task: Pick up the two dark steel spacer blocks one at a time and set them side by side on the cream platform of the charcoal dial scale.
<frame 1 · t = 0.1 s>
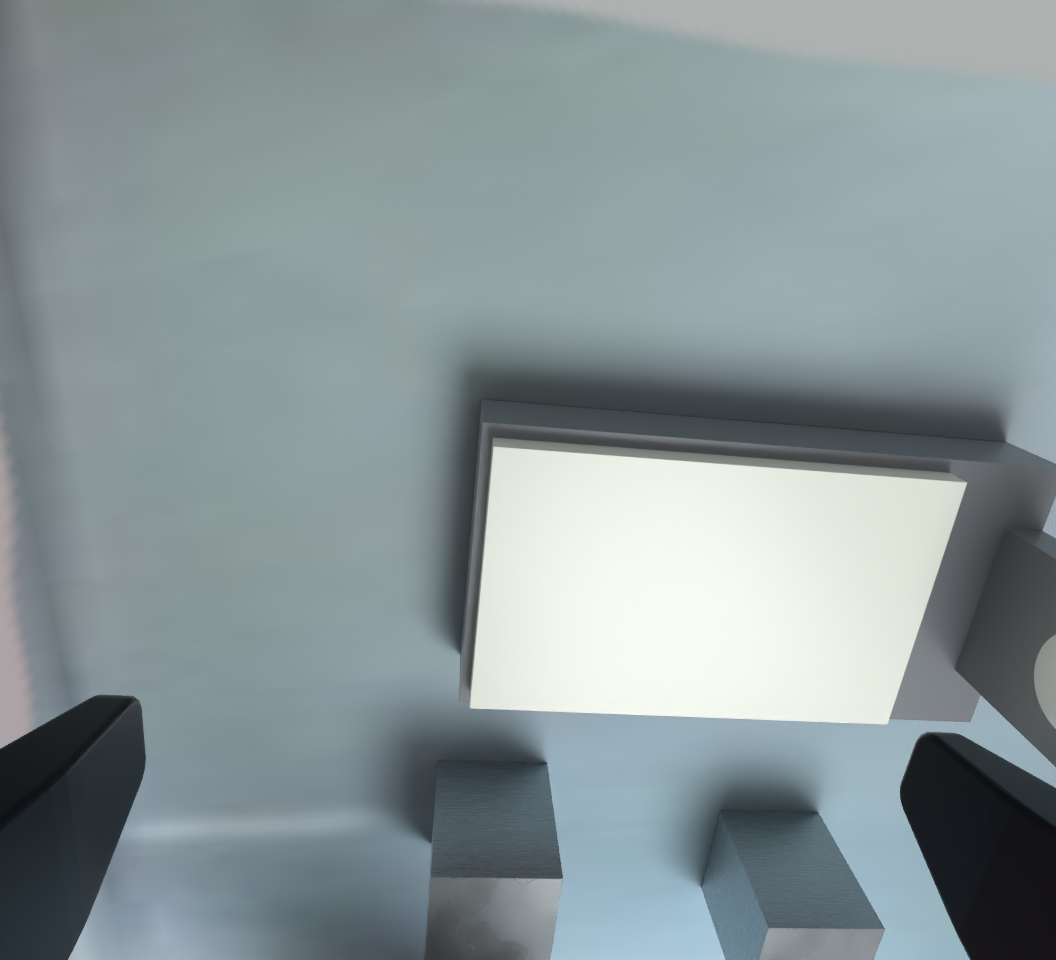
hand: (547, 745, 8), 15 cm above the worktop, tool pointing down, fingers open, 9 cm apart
spacer 2: (488, 803, 27), on the worktop
scale: (697, 550, 24), on the worktop
spacer 1: (758, 849, 29), on the worktop
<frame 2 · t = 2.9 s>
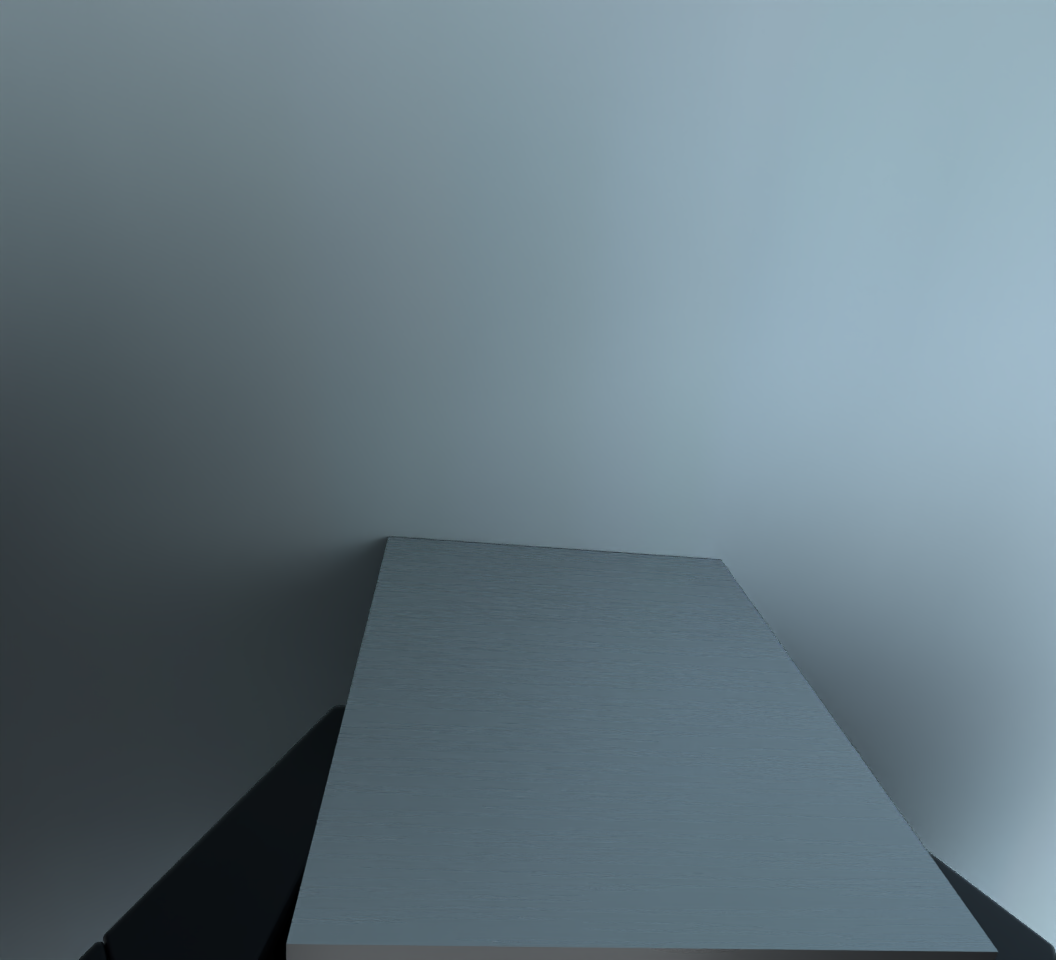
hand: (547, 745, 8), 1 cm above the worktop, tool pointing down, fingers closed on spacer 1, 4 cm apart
spacer 1: (539, 689, 9), on the worktop, touching gripper
when the fingers open (6 cm above the worktop, at t = 6.3 s): spacer 1 drops 1 cm, resting on scale.
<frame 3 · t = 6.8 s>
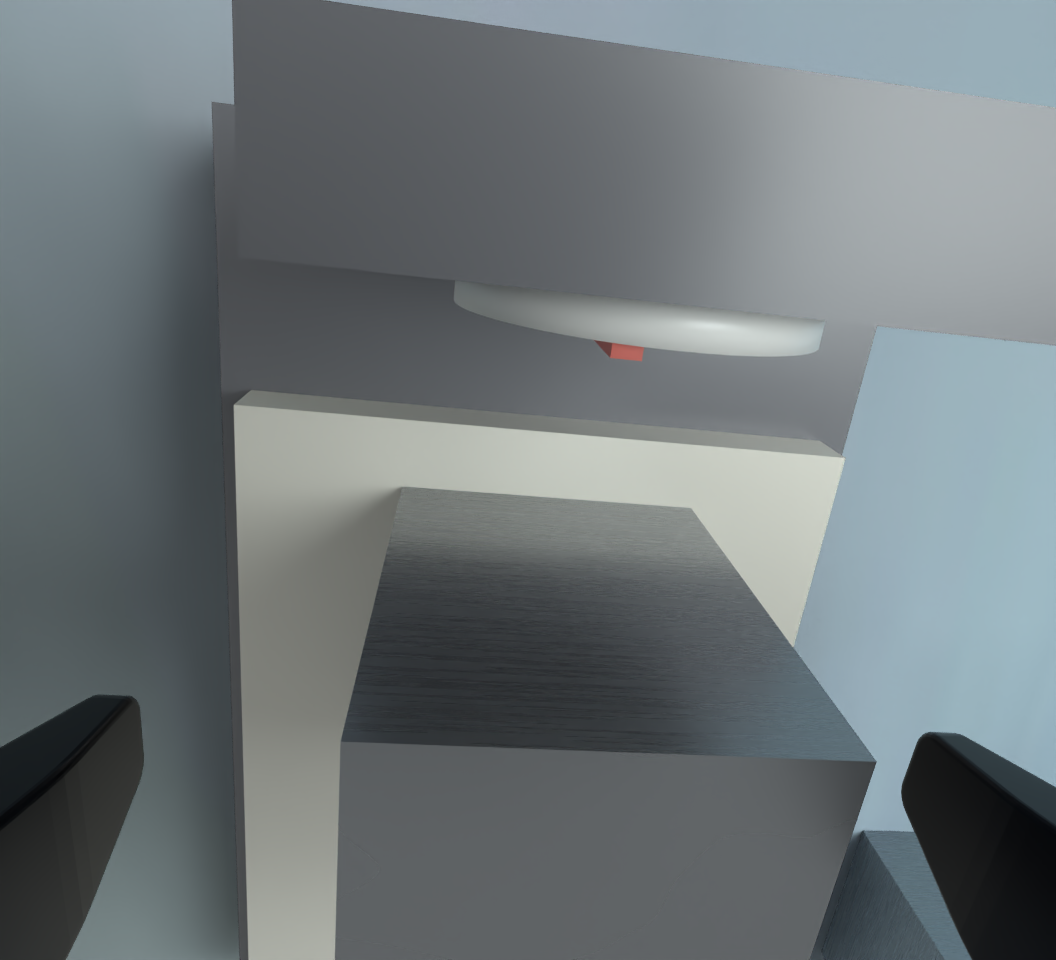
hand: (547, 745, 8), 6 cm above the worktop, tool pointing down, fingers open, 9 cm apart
spacer 2: (917, 893, 18), on the worktop
scale: (499, 668, 15), on the worktop
spacer 1: (533, 623, 11), point 3 cm above the worktop, touching scale
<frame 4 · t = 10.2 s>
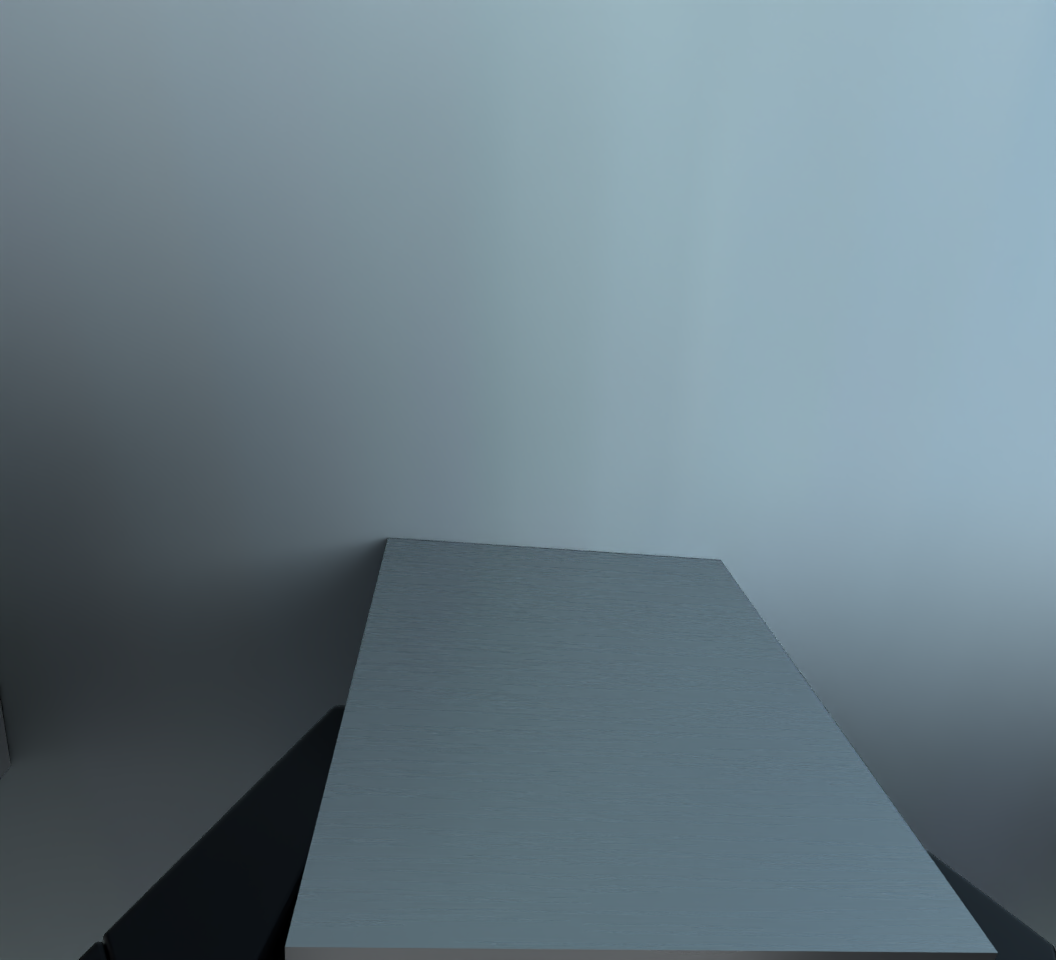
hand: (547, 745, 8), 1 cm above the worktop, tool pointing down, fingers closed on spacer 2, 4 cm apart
spacer 2: (539, 690, 9), on the worktop, touching gripper
when the fingers open (6 cm above the worktop, at t = 13.5 s): spacer 2 drops 1 cm, resting on scale.
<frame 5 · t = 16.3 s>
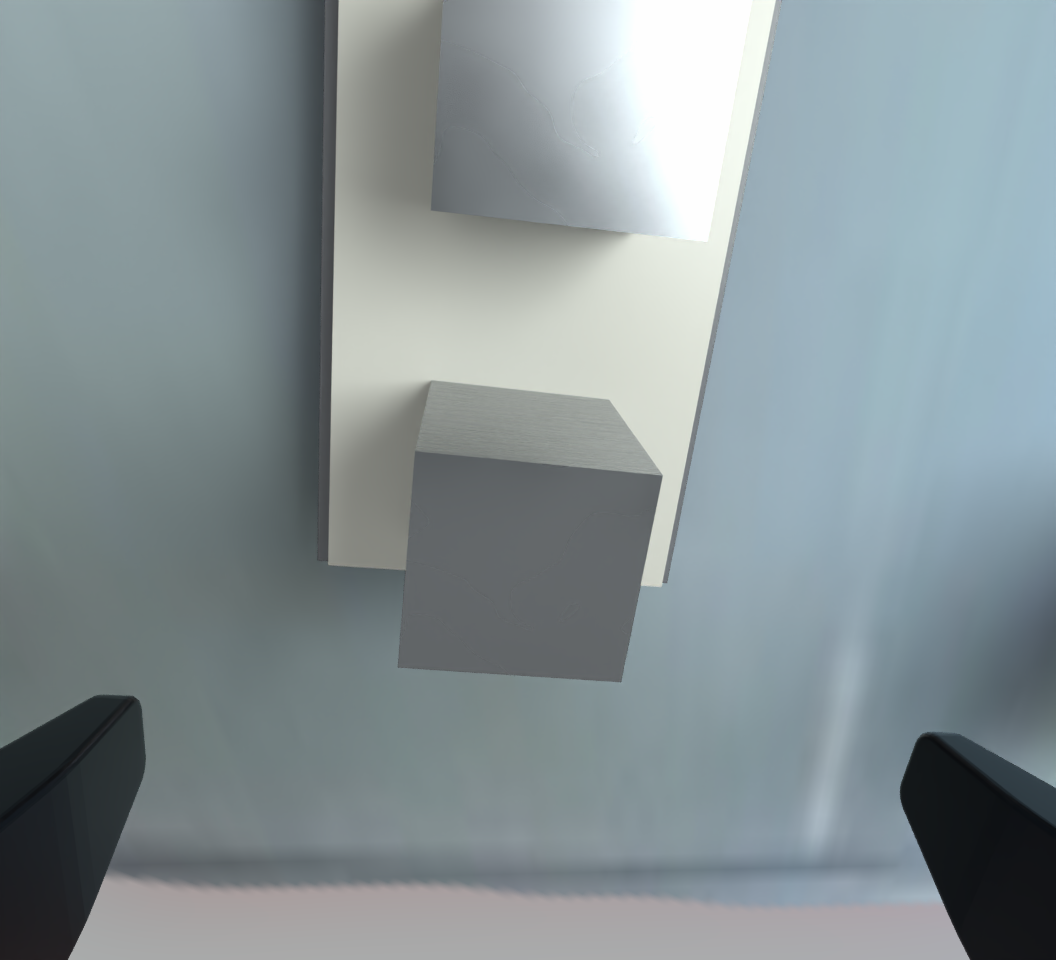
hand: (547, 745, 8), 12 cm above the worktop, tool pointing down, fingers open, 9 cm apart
spacer 2: (510, 473, 17), point 3 cm above the worktop, touching scale
scale: (521, 262, 19), on the worktop
spacer 1: (552, 113, 14), point 3 cm above the worktop, touching scale
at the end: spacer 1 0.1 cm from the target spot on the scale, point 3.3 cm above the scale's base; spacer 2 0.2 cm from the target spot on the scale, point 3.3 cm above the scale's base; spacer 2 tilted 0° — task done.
